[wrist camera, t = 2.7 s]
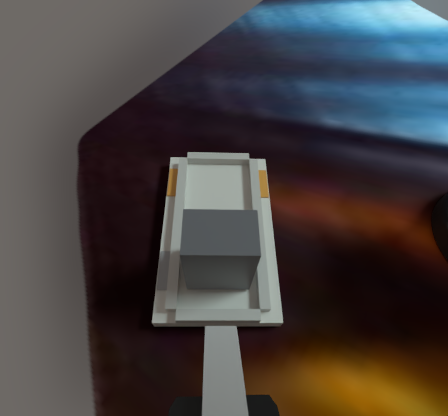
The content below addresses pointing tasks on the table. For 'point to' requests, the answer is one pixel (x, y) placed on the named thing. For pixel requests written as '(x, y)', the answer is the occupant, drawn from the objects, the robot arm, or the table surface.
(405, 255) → the table surface
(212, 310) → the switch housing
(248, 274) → the switch tab
